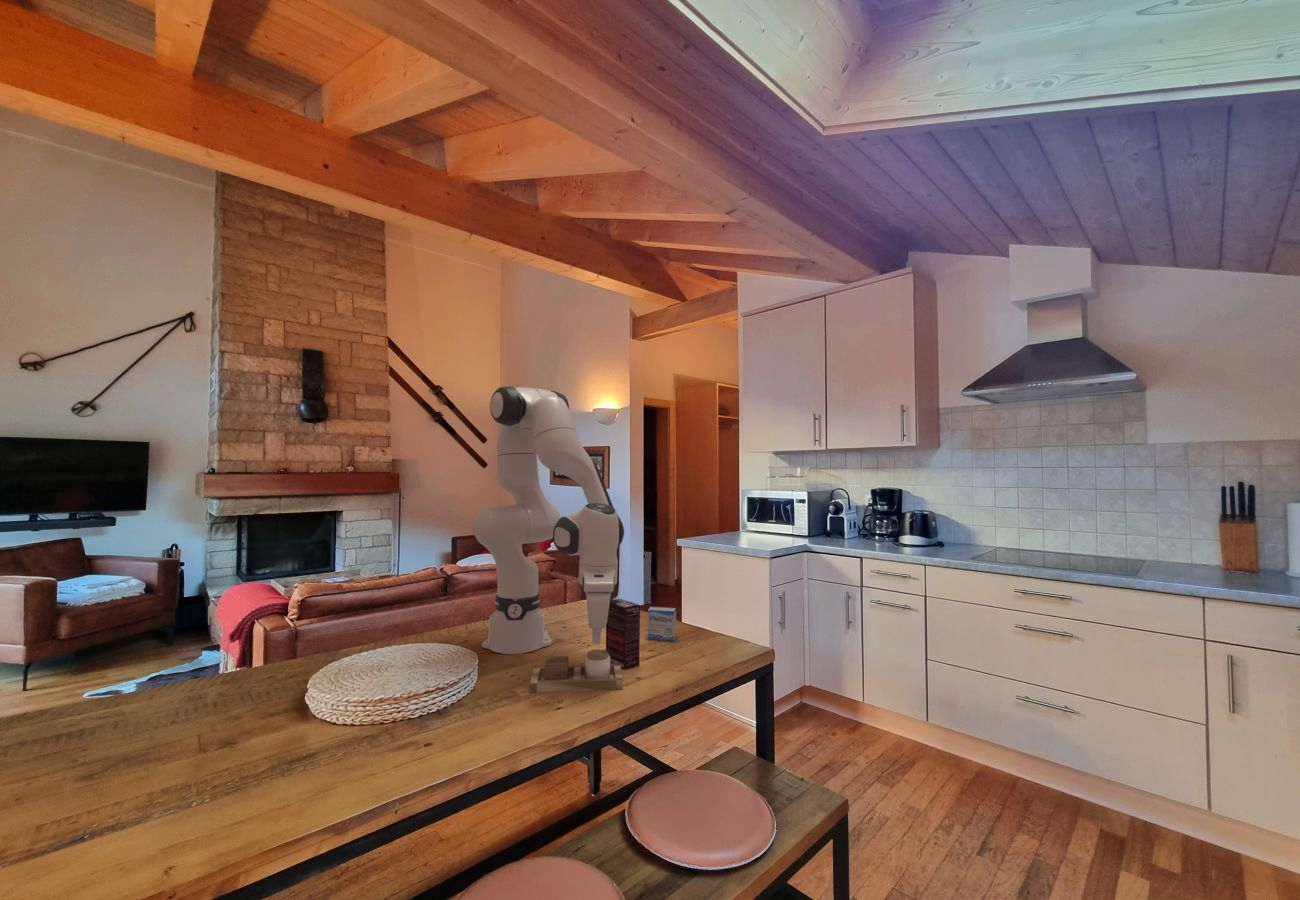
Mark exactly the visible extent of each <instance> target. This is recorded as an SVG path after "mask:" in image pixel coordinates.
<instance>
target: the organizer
mask: <svg viewBox="0 0 1300 900" xmlns="http://www.w3.org/2000/svg"><path fill="white" fill-rule="evenodd" d="M532 670H533V671H532V673H531V678H530V682H529V694H540V693H541V694H544V693H545V694H548V693H565V692H566V693H569V692H570V693H571V692H573V693H574V692H591V691H593V692H594V691H597V692H598V691H617V690H618V691H619V690H623V689H624V688H623V687H624V686H623V685H624V679H623V678H624V677H623V674H622V668H621V667H620V663H616V664H612V663H610V678H592V679H585V664H568V679H565V680H544V678H545V665H537V666H536V665H535V666H533V669H532Z"/></svg>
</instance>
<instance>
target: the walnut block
mask: <svg viewBox="0 0 1300 900" xmlns="http://www.w3.org/2000/svg"><path fill="white" fill-rule="evenodd" d="M568 665H569V655H562V656H561V655H560V656H559V655H557V656H556V655H555V656H553V655H552V656H546V657H545V662H544V666H545V678H544V680H565V679H568Z"/></svg>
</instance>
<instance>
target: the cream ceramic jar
mask: <svg viewBox="0 0 1300 900" xmlns="http://www.w3.org/2000/svg"><path fill="white" fill-rule="evenodd" d="M584 658H585V660H584V662H585V664H584V665H585V679H592V678H610V664H611V663H610V655H609V654H608V651H606V649H592V650H589V651H587V654H586V655H585V657H584Z"/></svg>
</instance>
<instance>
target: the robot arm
mask: <svg viewBox="0 0 1300 900" xmlns="http://www.w3.org/2000/svg"><path fill="white" fill-rule="evenodd" d="M489 406H490V408H489V410H490V415H491V417H492V419H493V420H494V421H495V422H496V423H498V424H500V425H499V428H498V433H497V444H496V468H497V470H496V471H497V472H496V473H497V479H496V480H497V482H498V485H499V486H500V487H501V488H502V489H503V490H505V491H507V492H509V493H510V494H511V496H512V497H513V499H514V503H515V504H512V505H509V504H508V505H496V506H492V507H487V508H484V509H481V510H479V512H478V513H477V515H475V517H474V521H473V524H472V531H473V535H474V537H475V539H476V540H477V542H478V543H479V544H480V545H482V546H483V547H484V548H485V549H487V550H488V551H489V553H490V554H491V556H492V557H493V561H494V563H495V566H496V568H495V569H496V577H497V578H496V580H497V581H496V583H497V584H496V585H497V594H496V595H495V601H494V605H495V611H494V612H493V613H491V615H490V616H489V621H488V634H487V635H488V637H487V639H485V640H484V641H483V642H482V643H481V648H483V649H488V650H490V651H491V652H495V653H499V654H502V655H503V654H506V655H507V654H508V655H514V654H515V655H516V654H517V655H518V654H525V653H530V652H534V651H537V650H539V649H541V648H545V647H550V646H552V639H551V637H550V635H549V633H548V630H547V627H546V625H545V615H544V614H543V612H542V610H540V605H541V604H540V603H541V596H540V592H539V567H538V564H537V563H536V562H535V561H534V560H533V559H531V558H529V557H528V556H526V555H525V554H524V552H523V545H525V544H533V543H542V542H546V541H549V540H551V539H552V540H553V544H554V546H555V548H556V550H557V551H558V552H559V553H561V554H562V555H566V556H579V563H578V584H580V585H581V587H582V588H583V592H584V593H585V597H586V606H587V609H586V610H587V621H588V626H589V629H591V633H592V634H591V635H592V640H591V643H592V644H593V645H600V644H601V636H602V630H603V629H606V624H607V619H608V612H609V604H610V600H611V596H612V593H613V592H614V589H615V586H616V585H617V583H618V569H619V568H618V565H619V560H618V555H617V552H618V551H617V550H618V549H619V547H620V546H621V545H622V543H623V540H624V537H625V528H624V523H623V522H622V520H621V517H620V516H619V515H618V513H617V510H616V509H615V508H614V505H613V503H612V501H611V497H610V495H609V492H608V491H607V488H606V484H605V483H604V480H603V478H602V476H601V475H602V474H601V472H600V470H599V468H598V466H597V463H596V462H595V460H594V459H593V458H592V457H591V455H589V454H588V453H587V451H586V450H585V448H584V446H583V445H582V443H581V441H580V439H579V436H578V433H577V428H576V425H575V422H574V418H573V415H572V413H571V411H570V403H569V401H568V398H567V396H565V395H564V394H563V393H560V392H558V391H556V390H548V389H543V388H538V387H522V386H518V387H517V386H516V387H515V386H512V385H510V386H501V387H498V388H497V389H495V391H494V393H493V394H492V396H491V398H490V404H489ZM538 460H539V461H540V463H541V464H542V465H543V466H544V467H546V468H547V469H549V470H551V471H552V472H555V473H557V474H561V475H563V476H566V477H568V478H569V479H571V480H573V481H575V482H576V483H577V484H578V485H579V486H580V487H581V489H582V491H583V493H584V496H585V499H586V502H587V504H585V505H584V506H583V507H582V509H581V510H580V511H577V512H574V513H571V514H568V515H564V516H561V514H560V512H559V510H558V509H557V508H556V507H555V506H554V505H553V504H551V503H550V502H549V501H548V499H547V497H546V496H545V494H544V492H543V490H542V487H541V484H540V478H539V471H538V470H539V469H538Z"/></svg>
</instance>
